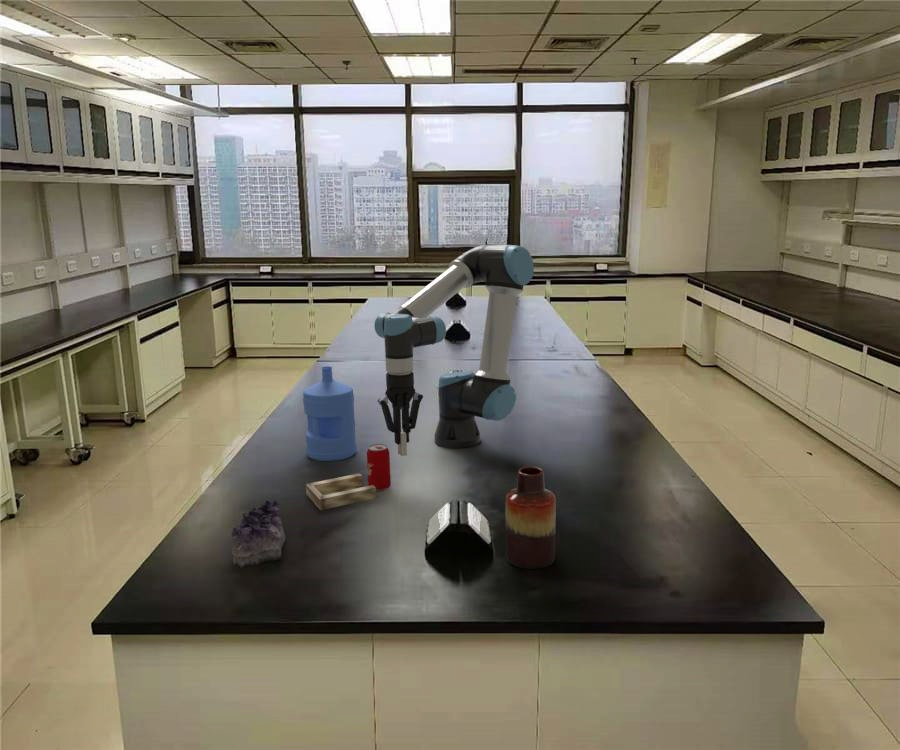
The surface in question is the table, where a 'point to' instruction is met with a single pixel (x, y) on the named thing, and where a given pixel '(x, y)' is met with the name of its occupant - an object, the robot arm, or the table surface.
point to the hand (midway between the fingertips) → (402, 454)
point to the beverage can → (378, 466)
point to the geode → (258, 536)
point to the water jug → (329, 419)
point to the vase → (530, 521)
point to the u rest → (339, 491)
